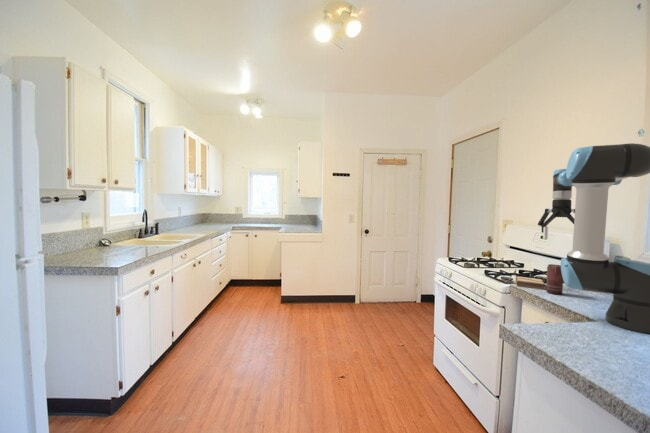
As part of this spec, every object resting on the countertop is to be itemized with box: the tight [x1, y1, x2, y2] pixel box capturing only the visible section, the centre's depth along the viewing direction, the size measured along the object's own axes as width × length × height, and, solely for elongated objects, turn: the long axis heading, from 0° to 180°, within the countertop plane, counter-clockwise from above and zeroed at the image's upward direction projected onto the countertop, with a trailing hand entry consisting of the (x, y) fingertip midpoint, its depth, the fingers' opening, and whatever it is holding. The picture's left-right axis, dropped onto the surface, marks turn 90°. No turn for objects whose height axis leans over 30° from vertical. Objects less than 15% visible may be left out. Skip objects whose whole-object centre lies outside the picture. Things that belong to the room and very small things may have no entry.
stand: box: [515, 276, 546, 291], centre depth 151 cm, size 12×12×3 cm
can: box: [545, 263, 564, 296], centre depth 137 cm, size 6×6×14 cm
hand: (560, 240), depth 144 cm, fingers open, 13 cm apart
